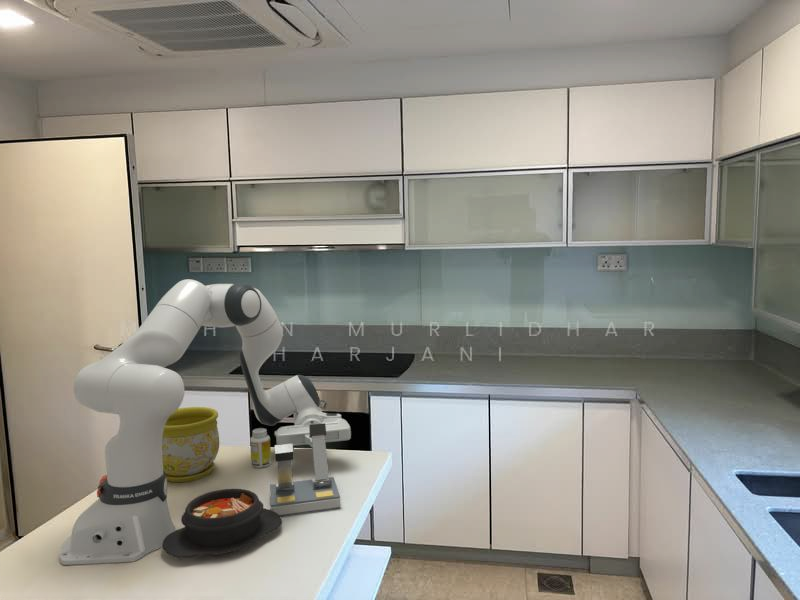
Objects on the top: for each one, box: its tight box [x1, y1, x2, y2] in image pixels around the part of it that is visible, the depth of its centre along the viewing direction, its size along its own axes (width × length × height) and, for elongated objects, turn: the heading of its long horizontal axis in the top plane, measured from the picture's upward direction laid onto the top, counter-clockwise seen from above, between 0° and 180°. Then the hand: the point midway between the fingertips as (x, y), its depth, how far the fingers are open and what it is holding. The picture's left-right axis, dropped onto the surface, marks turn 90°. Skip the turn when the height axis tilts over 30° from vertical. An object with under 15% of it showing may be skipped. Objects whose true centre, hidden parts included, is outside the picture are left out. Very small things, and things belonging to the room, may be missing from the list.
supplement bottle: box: [249, 427, 272, 469], centre depth 170 cm, size 6×6×10 cm
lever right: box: [309, 423, 332, 488], centre depth 149 cm, size 4×2×15 cm, turn 104°
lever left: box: [274, 444, 295, 493], centre depth 141 cm, size 4×2×15 cm
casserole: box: [162, 488, 283, 559], centre depth 129 cm, size 25×19×8 cm
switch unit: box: [269, 476, 341, 517], centre depth 146 cm, size 16×12×3 cm
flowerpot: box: [162, 406, 220, 483], centre depth 165 cm, size 18×18×16 cm
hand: (316, 443), depth 157 cm, fingers closed
